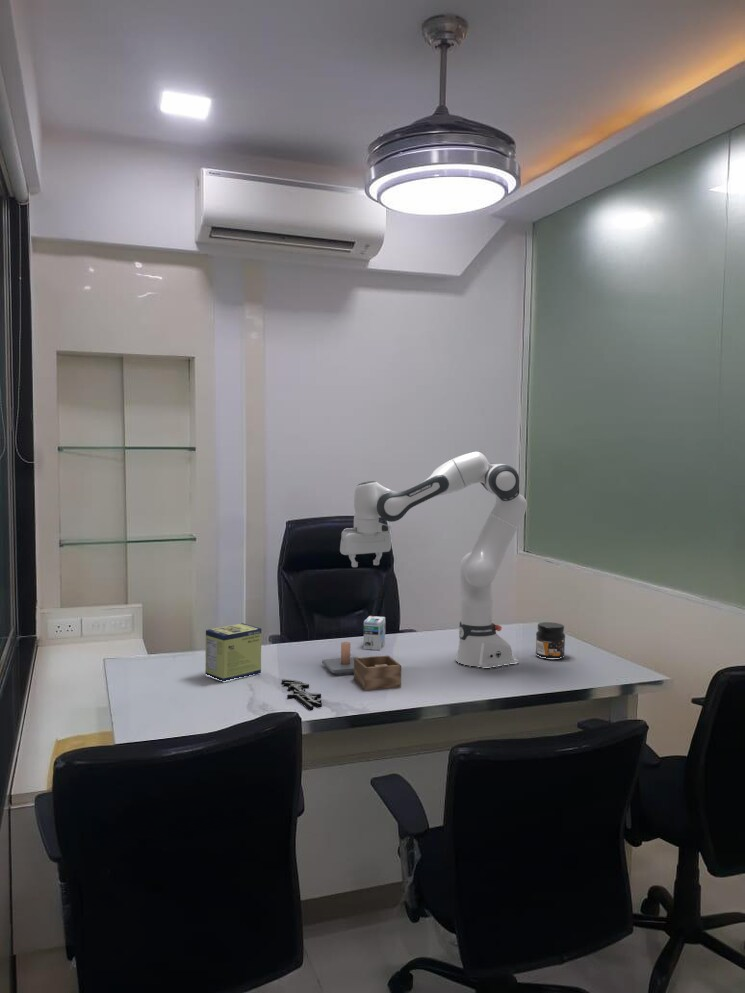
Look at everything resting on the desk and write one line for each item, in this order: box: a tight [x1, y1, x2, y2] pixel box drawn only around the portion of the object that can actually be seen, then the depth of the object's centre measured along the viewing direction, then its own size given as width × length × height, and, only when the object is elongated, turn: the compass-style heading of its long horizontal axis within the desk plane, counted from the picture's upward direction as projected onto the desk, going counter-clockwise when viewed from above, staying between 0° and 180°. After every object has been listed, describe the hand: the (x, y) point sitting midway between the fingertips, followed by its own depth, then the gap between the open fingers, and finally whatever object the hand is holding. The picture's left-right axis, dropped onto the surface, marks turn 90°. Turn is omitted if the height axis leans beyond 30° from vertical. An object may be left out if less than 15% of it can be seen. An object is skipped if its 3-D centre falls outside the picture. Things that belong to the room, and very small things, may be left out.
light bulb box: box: [363, 615, 386, 651], centre depth 290 cm, size 11×7×11 cm, turn 169°
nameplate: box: [281, 679, 323, 711], centre depth 230 cm, size 28×2×10 cm
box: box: [353, 655, 402, 691], centre depth 244 cm, size 12×12×7 cm
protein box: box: [204, 622, 262, 681], centre depth 250 cm, size 10×16×16 cm
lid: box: [321, 641, 359, 676], centre depth 258 cm, size 13×13×10 cm
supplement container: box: [535, 621, 566, 658], centre depth 279 cm, size 10×10×12 cm
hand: (365, 565), depth 268 cm, fingers open, 8 cm apart
